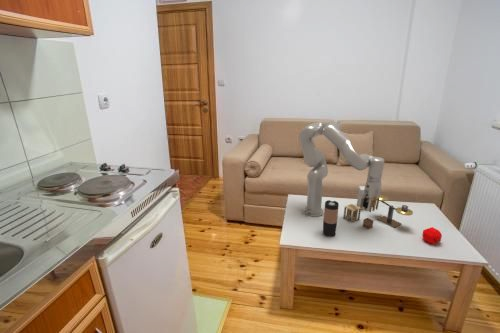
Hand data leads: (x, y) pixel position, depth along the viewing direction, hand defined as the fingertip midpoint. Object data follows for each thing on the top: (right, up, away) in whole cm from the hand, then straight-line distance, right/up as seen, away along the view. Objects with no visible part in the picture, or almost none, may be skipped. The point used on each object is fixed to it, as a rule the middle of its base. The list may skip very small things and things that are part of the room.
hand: (369, 205), depth 170 cm
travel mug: (-25, -16, -2) cm, 30 cm away
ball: (+30, -19, -11) cm, 37 cm away
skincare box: (+8, -6, +28) cm, 29 cm away
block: (+1, -14, +4) cm, 15 cm away
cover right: (0, -2, +1) cm, 2 cm away
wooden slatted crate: (-6, -11, +14) cm, 18 cm away
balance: (+16, -12, +9) cm, 22 cm away
